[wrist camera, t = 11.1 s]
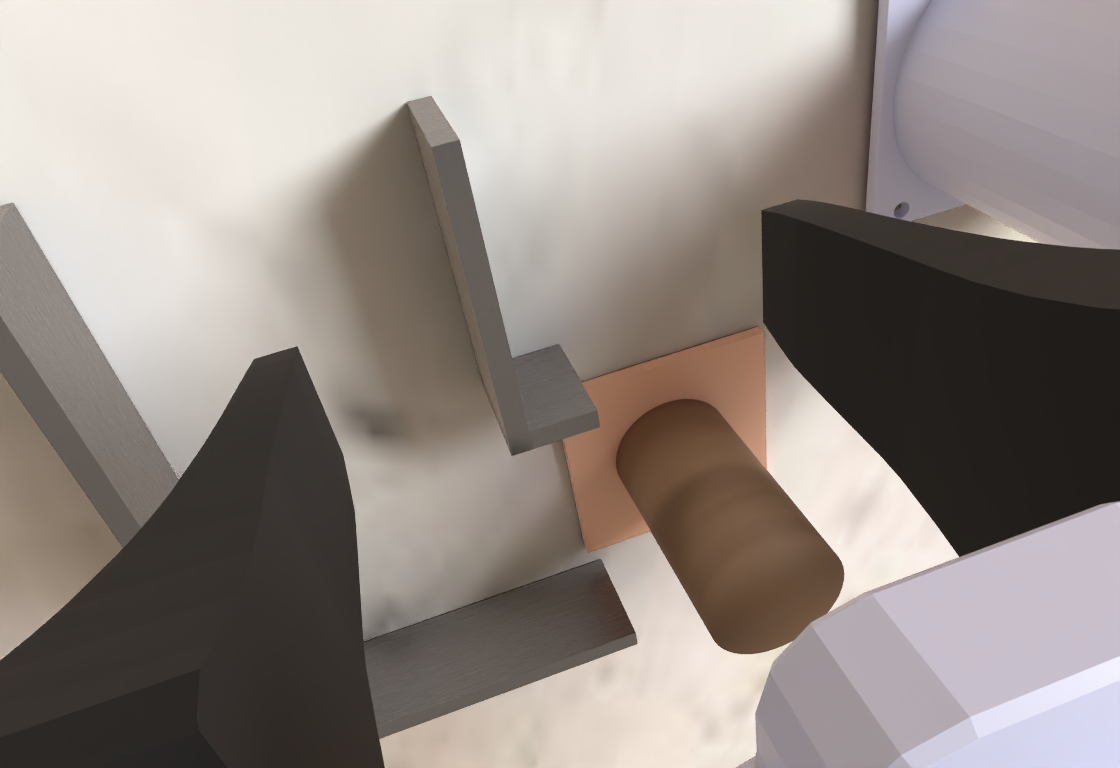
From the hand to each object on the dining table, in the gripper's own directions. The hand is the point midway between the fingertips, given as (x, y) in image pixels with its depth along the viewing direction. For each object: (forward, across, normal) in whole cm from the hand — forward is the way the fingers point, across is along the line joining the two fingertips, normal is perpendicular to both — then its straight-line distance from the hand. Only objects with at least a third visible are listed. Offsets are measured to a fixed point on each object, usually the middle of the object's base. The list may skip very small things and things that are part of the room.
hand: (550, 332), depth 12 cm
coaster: (+10, -5, +12) cm, 16 cm away
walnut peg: (+10, -5, +12) cm, 16 cm away
